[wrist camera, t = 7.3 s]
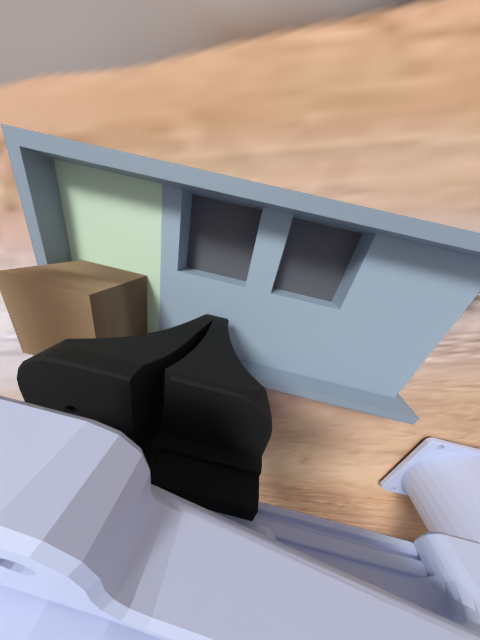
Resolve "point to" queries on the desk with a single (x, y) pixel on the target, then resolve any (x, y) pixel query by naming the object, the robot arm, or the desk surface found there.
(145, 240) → the box
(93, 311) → the block
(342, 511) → the desk surface
